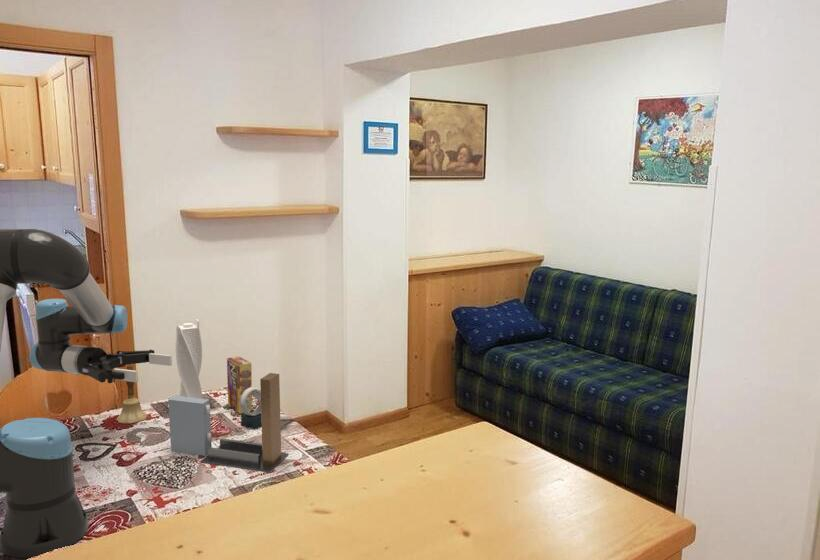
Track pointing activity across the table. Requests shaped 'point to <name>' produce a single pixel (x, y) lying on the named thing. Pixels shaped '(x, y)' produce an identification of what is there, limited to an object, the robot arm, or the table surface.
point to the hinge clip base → (270, 449)
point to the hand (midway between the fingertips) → (154, 368)
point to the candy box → (238, 382)
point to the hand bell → (131, 406)
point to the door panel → (190, 425)
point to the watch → (252, 417)
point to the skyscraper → (189, 359)
